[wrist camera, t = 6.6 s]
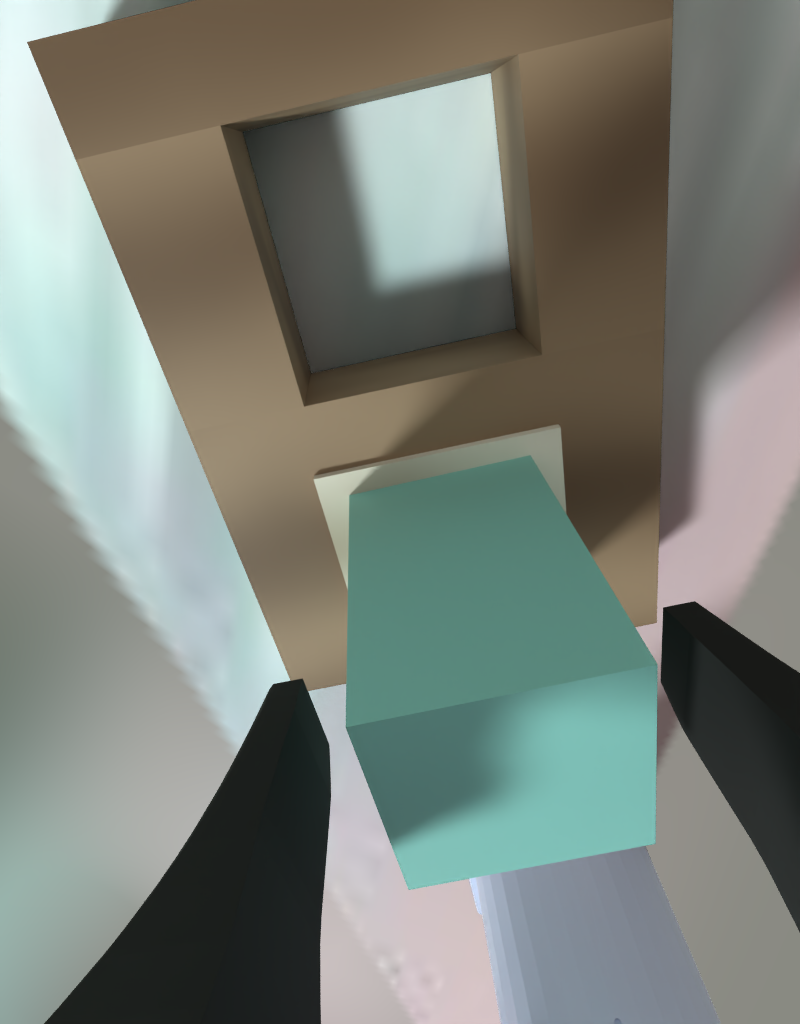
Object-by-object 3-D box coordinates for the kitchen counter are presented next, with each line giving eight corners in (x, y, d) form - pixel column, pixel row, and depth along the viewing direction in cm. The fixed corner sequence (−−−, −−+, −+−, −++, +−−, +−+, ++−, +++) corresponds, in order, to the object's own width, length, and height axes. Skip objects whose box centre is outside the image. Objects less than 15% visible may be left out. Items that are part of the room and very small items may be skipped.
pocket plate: (623, 573, 20) (659, 627, 18) (302, 637, 20) (295, 698, 18) (617, -68, 12) (682, -125, 9) (84, 63, 12) (21, 40, 10)
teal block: (546, 597, 17) (655, 843, 11) (389, 630, 17) (408, 889, 11) (530, 455, 14) (657, 664, 8) (348, 495, 15) (345, 727, 9)
